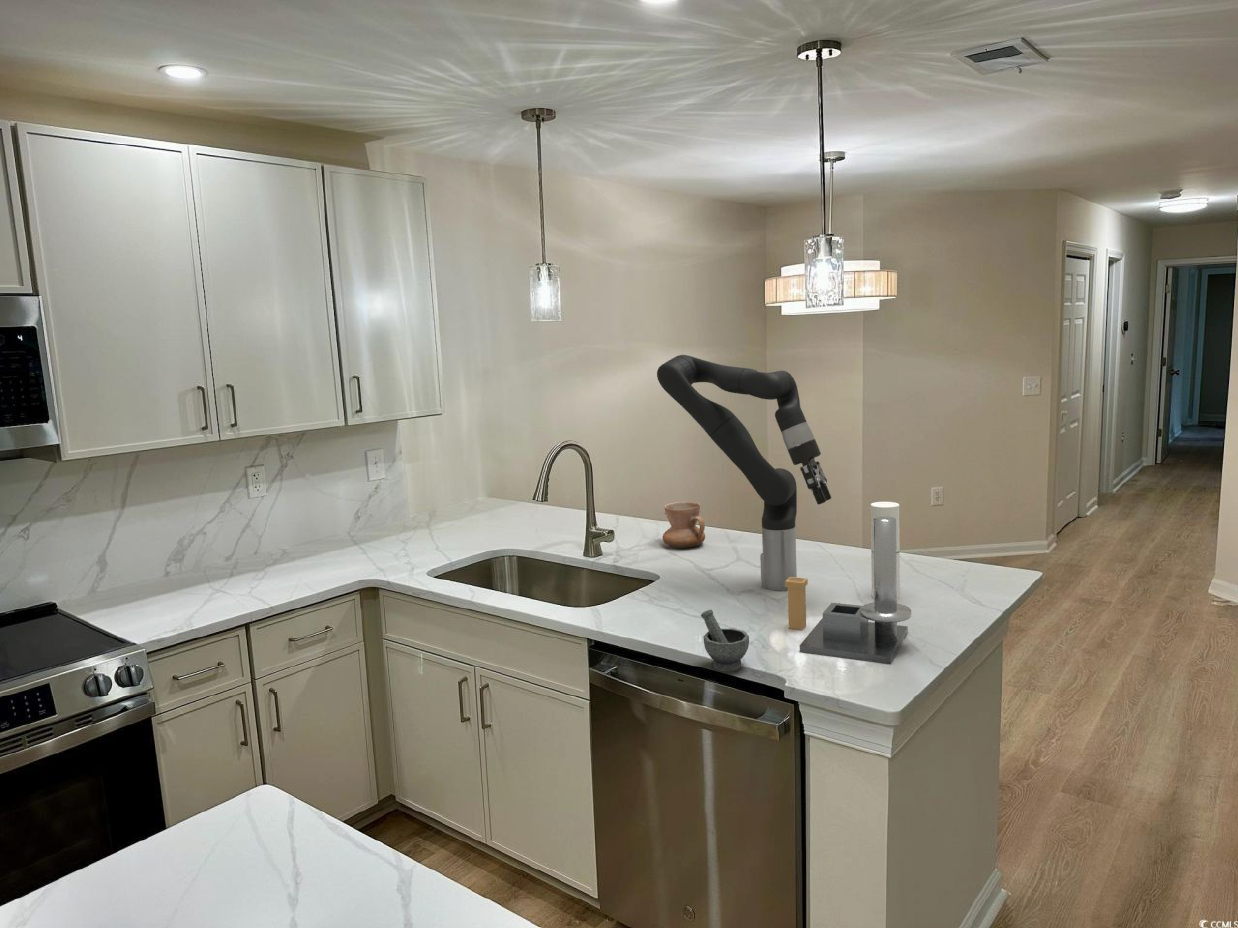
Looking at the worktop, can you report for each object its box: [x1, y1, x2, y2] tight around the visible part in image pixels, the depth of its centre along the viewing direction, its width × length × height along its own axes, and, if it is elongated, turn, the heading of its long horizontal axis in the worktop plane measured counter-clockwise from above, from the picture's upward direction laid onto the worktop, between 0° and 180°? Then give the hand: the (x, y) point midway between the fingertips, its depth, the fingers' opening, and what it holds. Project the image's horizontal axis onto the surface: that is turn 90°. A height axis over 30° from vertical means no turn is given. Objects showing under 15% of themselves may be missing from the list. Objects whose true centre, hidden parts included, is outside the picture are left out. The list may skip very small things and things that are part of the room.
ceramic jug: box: [662, 501, 706, 549], centre depth 290 cm, size 18×14×14 cm
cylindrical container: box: [870, 501, 901, 600], centre depth 226 cm, size 7×7×25 cm
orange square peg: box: [785, 576, 809, 631], centre depth 208 cm, size 4×4×12 cm
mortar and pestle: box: [700, 609, 750, 672], centre depth 188 cm, size 11×9×12 cm
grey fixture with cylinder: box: [799, 517, 912, 665], centre depth 194 cm, size 22×20×30 cm
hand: (825, 501), depth 219 cm, fingers open, 8 cm apart
